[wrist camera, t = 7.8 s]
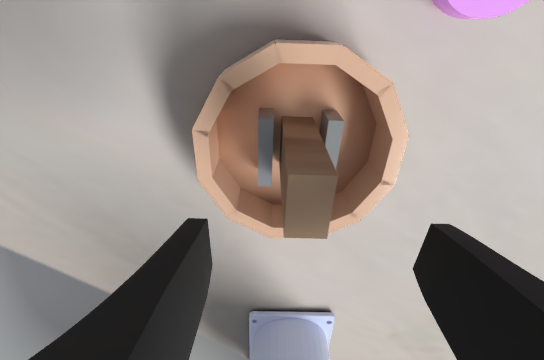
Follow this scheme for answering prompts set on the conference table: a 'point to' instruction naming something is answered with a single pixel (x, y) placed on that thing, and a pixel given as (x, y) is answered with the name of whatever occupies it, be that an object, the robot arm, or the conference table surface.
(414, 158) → the conference table surface
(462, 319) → the robot arm
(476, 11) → the bracket
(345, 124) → the round tan tray
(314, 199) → the long tan beam
